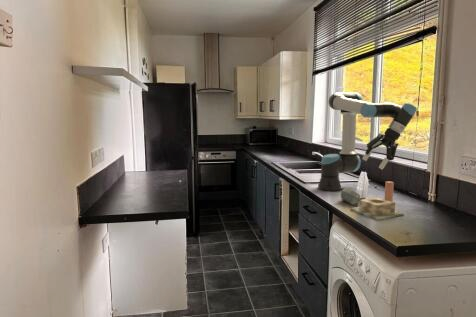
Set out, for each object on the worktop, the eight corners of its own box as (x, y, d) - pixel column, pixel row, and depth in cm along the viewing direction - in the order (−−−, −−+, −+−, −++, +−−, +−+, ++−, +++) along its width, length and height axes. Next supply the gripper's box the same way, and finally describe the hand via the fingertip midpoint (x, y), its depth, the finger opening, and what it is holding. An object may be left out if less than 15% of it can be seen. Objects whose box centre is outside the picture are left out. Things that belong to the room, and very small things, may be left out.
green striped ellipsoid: (334, 194, 192) (344, 180, 188) (348, 200, 194) (357, 187, 190) (341, 205, 179) (352, 191, 176) (355, 212, 181) (366, 198, 178)
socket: (350, 210, 171) (351, 199, 170) (375, 205, 179) (376, 195, 178) (377, 220, 155) (378, 208, 154) (403, 215, 162) (404, 203, 161)
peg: (382, 206, 177) (383, 181, 175) (387, 205, 178) (389, 181, 176) (388, 208, 173) (390, 183, 171) (393, 207, 175) (395, 182, 173)
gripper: (384, 123, 164) (361, 158, 168) (413, 141, 174) (391, 174, 179) (374, 119, 170) (352, 153, 175) (403, 137, 181) (382, 169, 185)
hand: (372, 164), depth 177 cm, fingers open, 13 cm apart
